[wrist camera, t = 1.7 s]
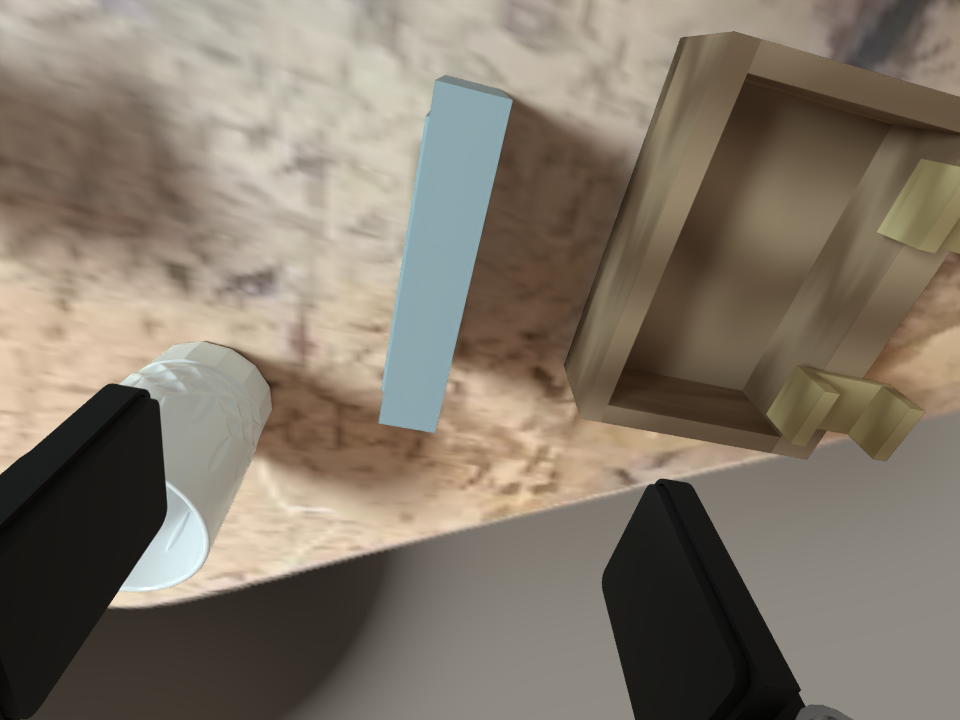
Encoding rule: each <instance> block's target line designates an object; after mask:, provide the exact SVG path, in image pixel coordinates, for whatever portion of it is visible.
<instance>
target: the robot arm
mask: <svg viewBox="0 0 960 720" xmlns="http://www.w3.org/2000/svg"><path fill="white" fill-rule="evenodd" d="M166 515H167V493H166V480H165V467H164V454H163V442H162V429H161V416H160V405H159V402H158V400H156V399H152V398H151V396H150V393H149V391H148V390H146V389H142V388H136V387H131V386H125V385H119V384H108V385H106V386H105V387H103V388H102V389H101V390H100V391H99V392H98V393H96V394H95V395H94V396H93V397H92V398H91V399H89V400H88V401H87V402H86V403H85V404H84V405H83V406H81V407H80V408H79V409H78V410H77V411H76V412H75V413H73V414H72V415H71V416H70V417H69V418H68V419H66V420H65V421H64V422H63V423H62V424H61V425H60V426H58V427H57V428H56V429H55V430H54V431H53V432H52V433H50V434H49V435H48V436H47V437H46V438H45V439H43V440H42V441H41V442H40V443H39V444H38V445H37V446H35V447H34V448H33V449H32V450H31V451H30V452H28V453H26V454H25V455H23V456H22V457H21V458H19V459H18V460H17V461H16V462H14V463H13V464H12V465H11V466H10V467H9V468H8V469H6V470H5V471H4V472H3V473H2V474H1V475H0V720H20V719H28V718H30V717H31V716H33V715H34V714H35V713H36V712H37V710H38V709H39V708H40V706H41V705H42V704H43V702H44V701H45V699H46V698H47V696H48V695H49V693H50V691H51V690H52V689H53V687H54V686H55V684H56V683H57V681H58V680H59V679H60V677H61V676H62V674H63V673H64V671H65V670H66V668H67V667H68V665H69V664H70V662H71V661H72V659H73V658H74V656H75V655H76V653H77V652H78V650H79V649H80V647H81V646H82V644H83V643H84V641H85V640H86V638H87V637H88V635H89V634H90V632H91V631H92V629H93V628H94V627H95V625H96V624H97V622H98V621H99V619H100V618H101V616H102V615H103V613H104V612H105V610H106V609H107V607H108V606H109V604H110V603H111V601H112V600H113V598H114V597H115V595H116V594H117V592H118V591H119V589H120V588H121V586H122V585H123V583H124V582H125V581H126V579H127V578H128V576H129V575H130V573H131V572H132V570H133V569H134V567H135V566H136V564H137V563H138V561H139V560H140V558H141V557H142V555H143V554H144V552H145V551H146V549H147V548H148V546H149V545H150V543H151V542H152V540H153V539H154V537H155V536H156V534H157V533H158V532H159V530H160V529H161V527H162V525H163V523H164V521H165V518H166ZM602 590H603V594H604V598H605V602H606V606H607V610H608V614H609V618H610V622H611V625H612V630H613V633H614V638H615V641H616V645H617V649H618V653H619V657H620V661H621V665H622V669H623V673H624V677H625V681H626V685H627V689H628V693H629V697H630V701H631V705H632V709H633V713H634V716H635V720H853V719H851V718H850V717H848V716H846V715H844V714H843V713H841V712H840V711H838V710H836V709H833V708H830V707H827V706H824V705H808V706H805V705H804V703H803V701H802V699H801V697H800V695H799V692H800V691H801V689H800V687H799V685H798V683H797V682H796V679H795V678H794V676H793V674H792V672H791V670H790V668H789V667H788V664H787V663H786V661H785V659H784V657H783V655H782V653H781V651H780V650H779V648H778V646H777V644H776V642H775V640H774V638H773V636H772V634H771V633H770V631H769V629H768V627H767V625H766V623H765V621H764V619H763V617H762V616H761V614H760V612H759V610H758V608H757V606H756V604H755V603H754V601H753V599H752V597H751V595H750V593H749V591H748V589H747V587H746V585H745V584H744V582H743V580H742V578H741V576H740V574H739V572H738V570H737V569H736V567H735V565H734V563H733V561H732V559H731V557H730V555H729V554H728V552H727V550H726V548H725V546H724V544H723V542H722V540H721V539H720V537H719V535H718V533H717V531H716V529H715V527H714V526H713V523H712V522H711V520H710V518H709V516H708V514H707V512H706V510H705V509H704V507H703V505H702V503H701V501H700V499H699V497H698V495H697V494H696V492H695V490H694V488H693V487H692V485H691V484H689V483H686V482H680V481H674V480H668V479H659V480H658V481H656V483H655V484H650V485H648V486H647V488H646V490H645V491H644V494H643V495H642V497H641V499H640V502H639V503H638V505H637V507H636V509H635V511H634V513H633V515H632V517H631V519H630V521H629V523H628V525H627V527H626V529H625V531H624V533H623V535H622V537H621V539H620V541H619V543H618V545H617V547H616V549H615V551H614V553H613V554H612V557H611V559H610V560H609V563H608V564H607V566H606V568H605V570H604V573H603V577H602Z"/></svg>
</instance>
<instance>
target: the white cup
mask: <svg viewBox="0 0 960 720" xmlns="http://www.w3.org/2000/svg"><path fill="white" fill-rule="evenodd" d="M119 385H125V386H131V387H136V388H142V389H146V390H148V391H149V393H150V396H151V398H152V399H156V400H158V402H159V405H160V416H161V429H162V442H163V454H164V467H165V480H166V493H167V515H166V518H165V521H164V523H163V525H162V527H161V529H160V530H159V532H158V533H157V534H156V536H155V537H154V539H153V540H152V542H151V543H150V545H149V546H148V548H147V549H146V551H145V552H144V554H143V555H142V557H141V558H140V560H139V561H138V563H137V564H136V566H135V567H134V569H133V570H132V572H131V573H130V575H129V576H128V578H127V579H126V581H125V582H124V583H123V585H122V586H121V588H120V589H119V591H128V592H144V591H155V590H161V589H165V588H169V587H172V586H175V585H177V584H180V583H182V582H184V581H186V580H187V579H189V578H190V577H192V576H193V575H194V574H196V573H197V572H198V571H199V570H200V568H201V567H202V566H203V564H204V563H205V561H206V559H207V557H208V555H209V553H210V550H211V548H212V546H213V544H214V542H215V540H216V537H217V535H218V533H219V531H220V529H221V527H222V524H223V522H224V520H225V518H226V516H227V514H228V512H229V509H230V507H231V505H232V503H233V501H234V499H235V497H236V495H237V493H238V491H239V489H240V487H241V484H242V482H243V479H244V476H245V474H246V472H247V470H248V468H249V466H250V463H251V461H252V458H253V455H254V453H255V451H256V449H257V443H258V440H259V438H260V435H261V432H262V430H263V428H264V426H265V424H266V422H267V420H268V418H269V416H270V414H271V411H272V403H271V394H270V387H269V385H268V384H267V382H266V381H265V379H264V378H263V376H262V375H261V373H260V372H259V370H258V369H257V367H256V366H255V365H254V364H253V363H251V362H250V361H248V360H247V359H245V358H244V357H242V356H241V355H239V354H238V353H237V352H235V351H234V350H232V349H230V348H226V347H223V346H219V345H215V344H211V343H207V342H203V341H199V342H191V343H183V344H175V345H173V346H172V347H170V348H169V349H167V350H166V351H165V352H163V353H162V354H160V355H159V356H157V357H156V358H155V359H153V360H152V361H151V362H150V363H149V364H147V365H146V366H145V367H144V368H143V369H141V370H140V371H137V372H135V373H133V374H131V375H130V376H129V377H127V378H126V379H125V380H124V381H123V382H121V383H120V384H119Z"/></svg>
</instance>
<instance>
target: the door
mask: <svg viewBox="0 0 960 720" xmlns="http://www.w3.org/2000/svg"><path fill="white" fill-rule="evenodd" d="M512 101H513V100H512V99H511V98H510V97H509V96H507V95H506V94H505V93H504V92H503V91H502V90H500V89H497V88H493V87H489V86H485V85H482V84H478V83H474V82H470V81H466V80H462V79H458V78H455V77H451V76H447V75H444V76H442V77H440V78H439V79H437V80H435V86H434V92H433V98H432V104H431V110H430V111H429V113H428V114H427V115H426V119H425V125H424V131H423V137H422V143H421V149H420V155H419V162H418V168H417V174H416V180H415V186H414V192H413V198H412V204H411V211H410V217H409V223H408V229H407V235H406V241H405V247H404V253H403V260H402V266H401V272H400V278H399V284H398V290H397V296H396V302H395V309H394V315H393V321H392V327H391V333H390V339H389V345H388V351H387V358H386V364H385V370H384V376H383V382H382V388H381V391H384V392H383V398H382V405H381V411H380V417H379V424H385V425H391V426H397V427H402V428H408V429H414V430H420V431H426V432H432V433H435V430H436V426H437V422H438V418H439V413H440V409H441V405H442V400H443V396H444V392H445V388H446V383H447V379H448V375H449V371H450V366H451V362H452V358H453V353H454V349H455V345H456V341H457V336H458V332H459V328H460V324H461V319H462V315H463V311H464V306H465V302H466V298H467V294H468V289H469V285H470V281H471V276H472V272H473V268H474V264H475V259H476V255H477V251H478V247H479V242H480V238H481V234H482V229H483V225H484V221H485V217H486V212H487V208H488V204H489V200H490V195H491V191H492V187H493V182H494V178H495V174H496V170H497V165H498V161H499V157H500V153H501V148H502V144H503V140H504V135H505V131H506V127H507V123H508V118H509V114H510V110H511V106H512Z"/></svg>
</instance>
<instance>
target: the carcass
mask: <svg viewBox="0 0 960 720" xmlns="http://www.w3.org/2000/svg"><path fill="white" fill-rule="evenodd" d="M950 251H951V252H955V253H959V254H960V97H958V96H955V95H951V94H948V93H944V92H941V91H938V90H934V89H931V88H927V87H924V86H920V85H917V84H913V83H910V82H907V81H903V80H900V79H896V78H893V77H889V76H886V75H882V74H879V73H876V72H872V71H869V70H865V69H862V68H858V67H855V66H852V65H848V64H845V63H841V62H838V61H834V60H831V59H827V58H824V57H821V56H817V55H814V54H810V53H807V52H803V51H800V50H796V49H793V48H790V47H786V46H783V45H779V44H776V43H772V42H769V41H766V40H762V39H759V38H755V37H752V36H748V35H745V34H741V33H738V32H735V31H733V32H725V33H716V34H708V35H700V36H691V37H683V38H681V39H680V41H679V44H678V47H677V50H676V53H675V55H674V58H673V61H672V64H671V67H670V69H669V72H668V75H667V78H666V81H665V83H664V86H663V89H662V92H661V95H660V98H659V100H658V103H657V106H656V109H655V112H654V114H653V117H652V120H651V123H650V126H649V128H648V131H647V134H646V137H645V140H644V142H643V145H642V148H641V151H640V154H639V156H638V159H637V162H636V165H635V168H634V171H633V173H632V176H631V179H630V182H629V185H628V187H627V190H626V193H625V196H624V199H623V201H622V204H621V207H620V210H619V213H618V215H617V218H616V221H615V224H614V227H613V229H612V232H611V235H610V238H609V241H608V243H607V246H606V249H605V252H604V255H603V258H602V260H601V263H600V266H599V269H598V272H597V274H596V277H595V280H594V283H593V286H592V288H591V291H590V294H589V297H588V300H587V302H586V305H585V308H584V311H583V314H582V316H581V319H580V322H579V325H578V328H577V331H576V333H575V336H574V339H573V342H572V345H571V347H570V350H569V353H568V356H567V359H566V361H565V364H564V367H565V370H566V374H567V377H568V380H569V383H570V386H571V390H572V393H573V396H574V399H575V402H576V406H577V409H578V412H579V415H580V418H581V419H586V420H591V421H597V422H602V423H608V424H613V425H619V426H624V427H630V428H635V429H641V430H647V431H652V432H658V433H663V434H669V435H674V436H680V437H685V438H691V439H696V440H702V441H707V442H713V443H718V444H724V445H729V446H735V447H740V448H746V449H751V450H757V451H762V452H768V453H773V454H779V455H784V456H790V457H795V458H801V459H808V457H809V456H810V454H811V453H812V451H813V450H814V449H815V447H816V446H817V444H818V443H819V441H820V440H821V438H822V437H823V436H824V434H825V433H826V431H827V430H828V431H833V432H838V433H844V434H848V435H849V436H850V437H851V438H852V439H853V440H854V441H855V442H856V443H857V444H858V445H859V446H860V447H861V448H862V449H863V450H864V451H865V452H866V453H867V454H868V455H869V456H870V457H871V458H872V459H876V460H881V461H887V460H888V459H889V457H890V456H891V455H892V453H893V452H894V451H895V450H896V448H897V447H898V446H899V445H900V443H901V442H902V441H903V439H904V438H905V437H906V436H907V434H908V433H909V432H910V431H911V429H912V428H913V427H914V426H915V424H916V423H917V422H918V420H919V419H920V418H921V417H922V415H923V414H924V413H925V411H924V410H923V409H921V408H920V407H919V406H917V405H916V404H915V403H913V402H912V401H911V400H909V399H908V398H907V397H906V396H904V395H903V394H902V393H900V392H899V391H898V390H896V389H895V388H894V387H892V386H891V385H890V384H886V383H881V382H877V381H872V380H867V379H863V377H864V376H865V374H866V373H867V372H868V370H869V369H870V367H871V366H872V364H873V363H874V361H875V360H876V358H877V357H878V356H879V354H880V353H881V351H882V350H883V348H884V347H885V345H886V344H887V343H888V341H889V340H890V338H891V337H892V335H893V334H894V332H895V331H896V329H897V328H898V327H899V325H900V324H901V322H902V321H903V319H904V318H905V316H906V315H907V313H908V312H909V311H910V309H911V308H912V306H913V305H914V303H915V302H916V300H917V299H918V297H919V296H920V295H921V293H922V292H923V290H924V289H925V287H926V286H927V284H928V283H929V281H930V280H931V279H932V277H933V276H934V274H935V273H936V271H937V270H938V268H939V267H940V265H941V264H942V263H943V261H944V260H945V258H946V257H947V255H948V254H949V252H950Z"/></svg>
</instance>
